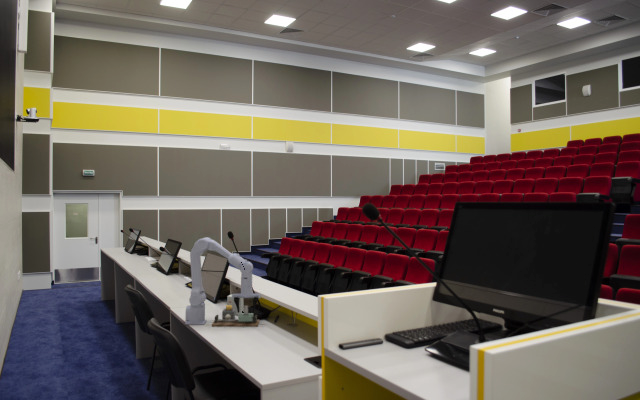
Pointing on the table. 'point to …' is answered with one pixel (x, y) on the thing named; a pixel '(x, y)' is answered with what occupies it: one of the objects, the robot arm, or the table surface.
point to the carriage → (245, 315)
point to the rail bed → (234, 322)
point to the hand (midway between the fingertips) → (246, 312)
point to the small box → (231, 302)
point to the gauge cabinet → (228, 314)
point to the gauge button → (228, 307)
